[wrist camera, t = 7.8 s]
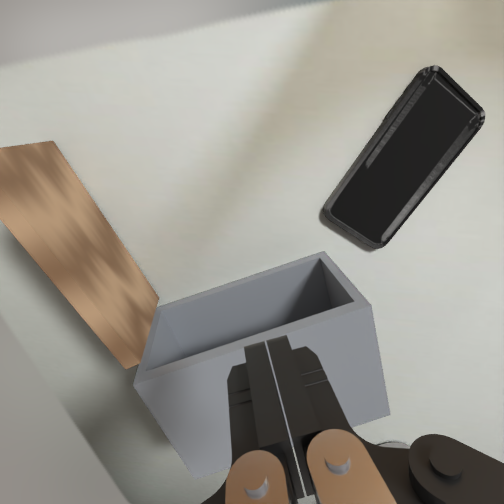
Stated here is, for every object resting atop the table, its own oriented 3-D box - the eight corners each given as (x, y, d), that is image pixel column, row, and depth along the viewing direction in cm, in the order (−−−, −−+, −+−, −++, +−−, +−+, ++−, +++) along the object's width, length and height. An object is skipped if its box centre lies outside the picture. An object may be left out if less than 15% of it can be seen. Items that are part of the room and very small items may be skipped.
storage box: (344, 340, 36) (390, 414, 27) (198, 388, 36) (194, 479, 27) (324, 250, 31) (371, 305, 22) (155, 307, 31) (132, 385, 22)
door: (159, 297, 31) (140, 363, 22) (139, 306, 31) (113, 375, 23) (53, 140, 24) (-28, 151, 16) (28, 152, 24) (-65, 169, 16)
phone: (490, 116, 27) (380, 252, 31) (480, 116, 28) (374, 248, 32) (431, 57, 25) (320, 214, 29) (422, 60, 26) (316, 210, 30)
